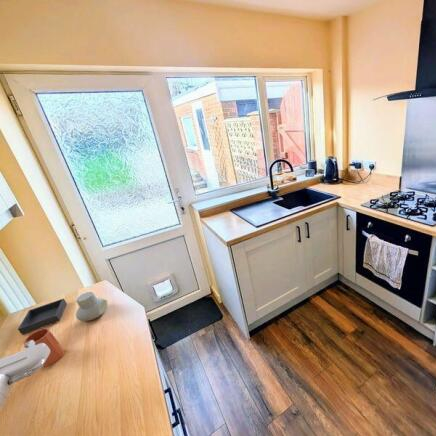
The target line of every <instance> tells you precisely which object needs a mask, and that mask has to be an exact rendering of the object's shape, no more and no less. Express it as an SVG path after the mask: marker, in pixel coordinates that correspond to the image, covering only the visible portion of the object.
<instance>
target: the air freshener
mask: <svg viewBox="0 0 436 436" xmlns="http://www.w3.org/2000/svg"><path fill="white" fill-rule="evenodd" d="M75 302H76V303H77V305H78V308H77V310H76V313H75V317H76V319H77V320H78V321H80V322H90V321H92V320H95V319H97V318H99V317H100V316H102V315H103V314H104V313H105V312H106V310H107V308H108V301H107V299H105V298H103V297H97V296H96V295H95V293H94V292H93V291H87V292H84V293H82V294H80V295H79V296H78V297H77V298H76V300H75Z"/></svg>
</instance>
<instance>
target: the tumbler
mask: <svg viewBox="0 0 436 436" xmlns="http://www.w3.org/2000/svg"><path fill="white" fill-rule="evenodd" d="M31 340H34V342H35V345H38V344H40V343H44V344H46V345H47V346H48V347H49V349H50V354H49V356H48V358H47V360H46V361H45V363H44V364H43V366H42V367H48V366H51V365H54V364H55V363H57V362H58V361H60V360H61V359H62V357H64V355H65V352H66V351H65V349H64V348H63V346H62V345H61V344H60V342H59V340H58V339H57V338H56V337H55V336H54V334H53V332H52V331H51V330H50V328H47V327H45V328H44V327H42V328H39V329H36V330H34V331H33V332H31V333H30V334H29V335H27V337H26V338H24V339H23V342H22V343H23V346H24V345H25V343H26V342H28V341H31Z"/></svg>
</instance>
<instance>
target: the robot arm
mask: <svg viewBox="0 0 436 436" xmlns="http://www.w3.org/2000/svg"><path fill="white" fill-rule="evenodd" d="M23 347H24V348H25V349H22V350H21V351H20V350H19V351H17V352H15V353H13V354H10V355H8V356H4V357H2V358H0V411H2V409H3V407H4V406H5V404H6V402H7V400H8V398H9V396H10V394H11V392H12V390H13V387H14V383H16V382H19V381H21V380H23V379H25V378H28V377H30V376H32V375H34V374H36V373H37V372H39V370H41V369H42V367H44V366H43V364H44V363H45V361H46V360H47V358H48V356H49V354H50V349H49V347H48V346H47V345H46V344H44V343H40V344H38V345H35V342H34V340H31V341H28V342H26V343H25V345H24V344H23Z"/></svg>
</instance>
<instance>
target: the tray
mask: <svg viewBox="0 0 436 436" xmlns="http://www.w3.org/2000/svg"><path fill="white" fill-rule="evenodd" d="M67 305H68V303H67V301H66V300H65V298H61V299H57V300H55V301H52V302H49V303H46V304H43V305H40V306H37V307H35V308H31V309H29V310H28V311H27V313H26V315H25V316H24V318H23V319H22V322H21V323H20V324H19V326H18V328H17V331H18V332H19V333H20V334H21V335H22V336H23V335H26V334H28V333H32V332H35V331H37V330H40V329H43V328H44V327H47V326H50V325H52V324H55V323H58V322H60V321H61V319H62V317H63V314H64V312H65V309H66V307H67Z"/></svg>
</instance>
